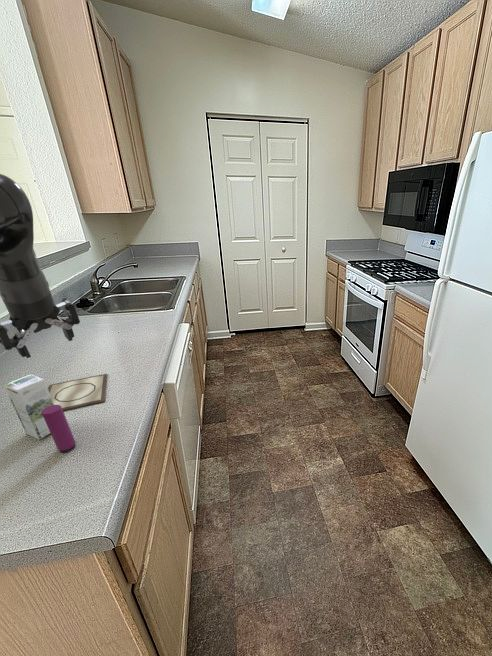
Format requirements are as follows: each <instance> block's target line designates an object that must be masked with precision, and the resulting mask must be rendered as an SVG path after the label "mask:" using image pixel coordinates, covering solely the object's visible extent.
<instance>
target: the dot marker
mask: <svg viewBox="0 0 492 656" xmlns="http://www.w3.org/2000/svg"><path fill="white" fill-rule="evenodd" d="M64 412H65V411H63V410H62V407H61V406H60V405H51V406H48V407H46V408H45V409H43V410H42V415H43V417H44V419H45V422H46V424H47V426H48V428H49V431H50V433H51V434H50V435H51V438H52V440H53V442H54V444H55V447H56V449H57V450H58V451H59V452H60V453H63V454H65V453H69V452H71V451H73V450H74V449H75V448H76V446H77V445H76V439H75V438H74V435H73V432H72V430H71V427H70V425H69V422H68V420H67V417H66V415H65V413H64Z"/></svg>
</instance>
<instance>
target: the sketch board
mask: <svg viewBox="0 0 492 656" xmlns="http://www.w3.org/2000/svg"><path fill="white" fill-rule="evenodd" d="M107 384H108V373H103V374H98V375H93V376H86V377H82V378H77V379H73V380H66V381H62V382H58V383H57V382H56V383H52V384H49V385H48V387H47V389H48V391H49V394H50V396H51V399H52V401H53V404H54V405H60V406H61V407H62V410H63V412H67V411H71V410H75V409H79V408H86V407H89V406H94V405H97V404H102V403H106V396H107V395H106V394H107V386H108V385H107Z"/></svg>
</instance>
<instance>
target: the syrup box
mask: <svg viewBox="0 0 492 656" xmlns="http://www.w3.org/2000/svg"><path fill="white" fill-rule="evenodd" d="M3 386H4V389H5V391H6V394H7V395H8V397H9V400H10V402H11V405H12V406H13V409H14V411H15V412H16V413H15V414H16V415H17V417H18V419H19V421H20V424H21V425H22V428H23V430H24V433H25V434H27V435H28V436H31V437H32V438H35V439H37V440H39V441H40V440H42V439H44V438H46V437H48V436H49V435H51V433H50V431H49V428H48V426H47V424H46V422H45V419H44V417H43V415H42V410H43V409H45V408H46V407H48V406H51V405H54V404H53V401H52V399H51V396H50V394H49V391H48V387H47V383H46V381H45V379H43V378H41V377H39V376H37V375H35V374H28V375H25V376H22V377H20V378H18V379H15V380H13V381H10V382H8V383H5V384H3Z"/></svg>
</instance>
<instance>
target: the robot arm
mask: <svg viewBox="0 0 492 656" xmlns="http://www.w3.org/2000/svg"><path fill="white" fill-rule="evenodd" d="M34 234H35V233H34V212H33V208H32V204H31V202H30V199H29V197H28V195H27V194H26V192H25V191H24V190H23V188H22V187H21V186H20V185H19V184H18V183H17V182H16V181H15V180H14V179H12V178H11V177H9V176H7V175H5V174H3V173H0V298H1V300H2V302H3V304H4V306H5V308H6V310H7V312H8V314H9V319H7V320H4V321H1V322H0V344H1V345H2V347H3V348H4V349H5V350H6V351H10V350H12V349H13V348H14V349H16V351H17V353H18V354H19V355H20V357H22V358H27V359H29V358H30V359H31V357H32V355H31V353H30V351H29V349H28V347H27V346H26V343H27V341H29V340H30V339H31V338H32V336H33V334H37V333H39V332H41V331H43V330H47V329H51V328H52V326H54V327H57V328H60V329H61V330H62V333H63V334H64V337H65V339H66V340H67V341H68V342H71V341H73V340H74V339H73V338H74V337H75V333H74V330H73V326H74V325H80V323H81V321H80V317H79V315H78V312H77V310H76V308H75V305H74V304H73V303H72V302H71V301H70V300H69V299H68V298H67V297H64V298H62V299H61V302H59V303H57V304H56V303H55V300H54V298H53V295H52V291H51V289H50V284H49V281H48V280H47V278H46V276H45V273H44V271H43V270H42V268H41V266H40V263H39V260H38V257H37V254H36V252H35V249H34V239H35V238H34V237H35V235H34ZM61 311H63V312H64V313H66V314H67V318H66V319H65V318H63V317H61V316H59V314H60V312H61ZM12 327H14V329H13V331H14V332H13V334H12V336H11V338H10V337H9V335H8V334H10V331H11V328H12Z"/></svg>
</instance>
